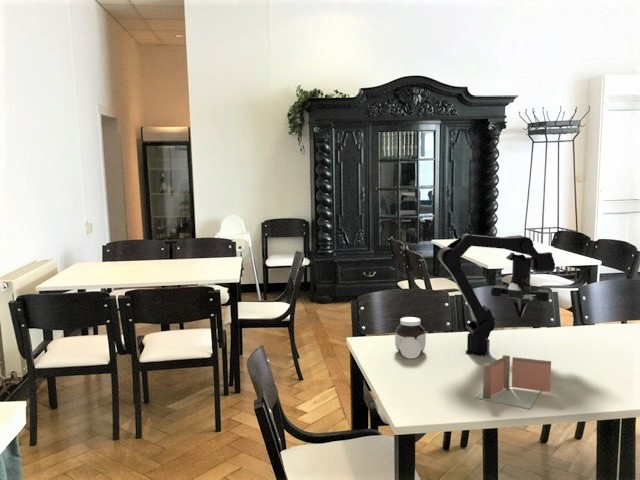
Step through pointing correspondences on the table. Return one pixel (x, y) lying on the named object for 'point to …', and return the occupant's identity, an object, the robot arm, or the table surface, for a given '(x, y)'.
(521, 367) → the swing panel
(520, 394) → the mat
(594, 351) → the table surface
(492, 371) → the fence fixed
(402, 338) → the spread jar
